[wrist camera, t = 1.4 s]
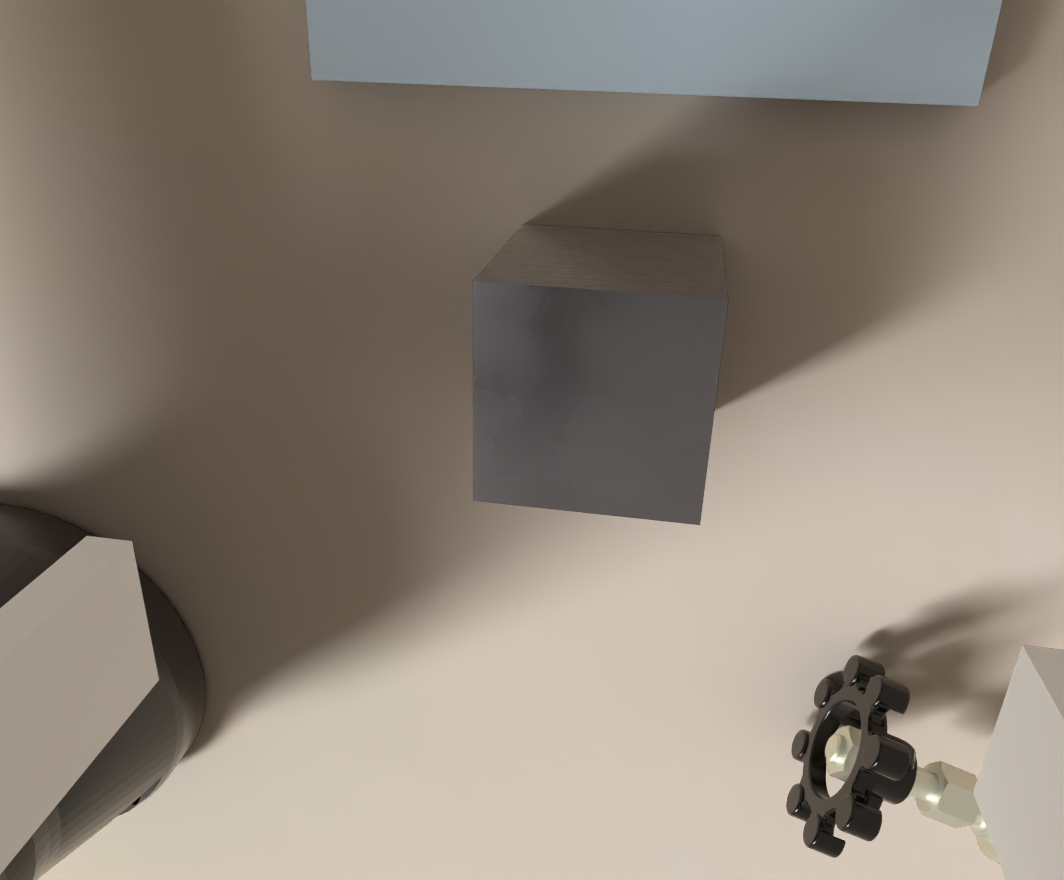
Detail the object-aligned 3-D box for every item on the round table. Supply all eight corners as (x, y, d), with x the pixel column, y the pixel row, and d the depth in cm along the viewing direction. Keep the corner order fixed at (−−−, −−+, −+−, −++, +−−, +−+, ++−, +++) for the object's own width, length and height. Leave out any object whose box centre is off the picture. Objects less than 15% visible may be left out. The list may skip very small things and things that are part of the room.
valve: (1174, 743, 31) (863, 617, 31) (1287, 910, 25) (903, 754, 25) (1061, 856, 34) (777, 741, 34) (1138, 1029, 28) (795, 890, 28)
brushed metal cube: (520, 402, 30) (473, 500, 23) (524, 224, 27) (473, 280, 21) (698, 418, 29) (699, 525, 22) (720, 236, 26) (728, 299, 20)
